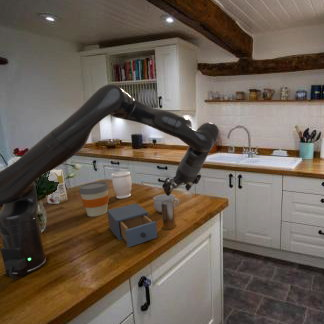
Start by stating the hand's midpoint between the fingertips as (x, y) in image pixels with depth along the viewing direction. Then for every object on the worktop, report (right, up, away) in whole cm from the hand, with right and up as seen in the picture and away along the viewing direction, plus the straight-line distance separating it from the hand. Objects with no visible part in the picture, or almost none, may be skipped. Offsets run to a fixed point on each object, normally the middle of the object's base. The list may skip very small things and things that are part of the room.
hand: (177, 191), depth 99 cm
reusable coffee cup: (-50, -15, +29) cm, 60 cm away
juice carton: (-83, -12, +45) cm, 95 cm away
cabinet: (-25, -18, +11) cm, 32 cm away
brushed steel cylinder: (-7, -18, +13) cm, 23 cm away
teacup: (-14, -14, +30) cm, 36 cm away
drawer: (-17, -19, +2) cm, 26 cm away
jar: (-49, -10, +53) cm, 73 cm away
